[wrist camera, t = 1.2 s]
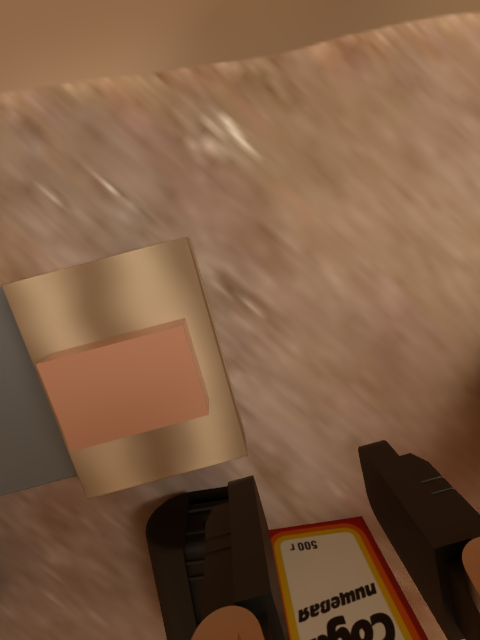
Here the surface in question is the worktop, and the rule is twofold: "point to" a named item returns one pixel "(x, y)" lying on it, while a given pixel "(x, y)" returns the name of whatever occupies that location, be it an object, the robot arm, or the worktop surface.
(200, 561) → the end cap
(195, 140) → the worktop surface
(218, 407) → the tan wooden flat block
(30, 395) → the mat
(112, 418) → the tile
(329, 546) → the baking soda box
